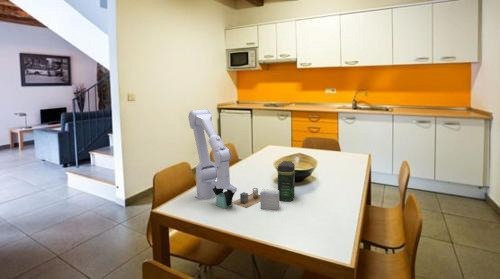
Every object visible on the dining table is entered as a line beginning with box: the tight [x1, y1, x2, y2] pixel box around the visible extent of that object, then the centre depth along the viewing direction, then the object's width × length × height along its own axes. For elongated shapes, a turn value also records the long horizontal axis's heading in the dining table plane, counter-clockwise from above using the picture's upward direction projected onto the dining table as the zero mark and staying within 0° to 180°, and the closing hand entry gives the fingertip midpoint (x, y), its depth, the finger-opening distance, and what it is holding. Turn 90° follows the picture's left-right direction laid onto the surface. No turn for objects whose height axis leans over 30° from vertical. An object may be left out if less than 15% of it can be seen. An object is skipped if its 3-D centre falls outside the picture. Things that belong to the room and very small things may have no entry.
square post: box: [239, 191, 249, 204], centre depth 141 cm, size 3×3×4 cm
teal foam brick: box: [215, 191, 234, 210], centre depth 138 cm, size 5×5×6 cm
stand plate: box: [232, 192, 261, 209], centre depth 144 cm, size 10×16×1 cm, turn 138°
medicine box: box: [259, 188, 281, 211], centre depth 134 cm, size 8×4×9 cm, turn 74°
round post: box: [252, 187, 259, 199], centre depth 146 cm, size 3×3×4 cm
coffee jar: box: [277, 160, 296, 203], centre depth 144 cm, size 10×8×19 cm
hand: (224, 203), depth 138 cm, fingers closed on teal foam brick, 5 cm apart
